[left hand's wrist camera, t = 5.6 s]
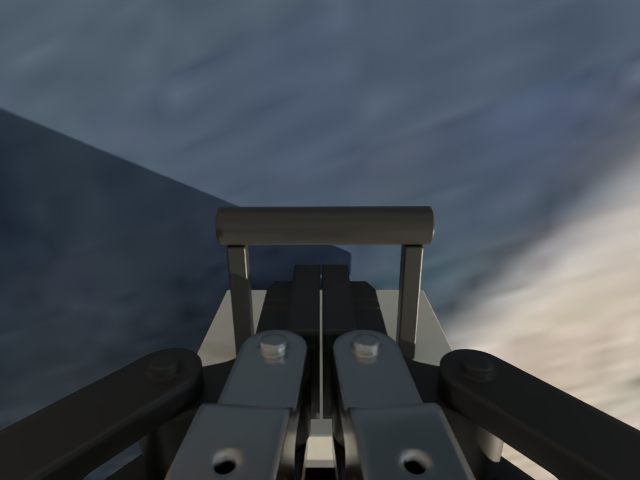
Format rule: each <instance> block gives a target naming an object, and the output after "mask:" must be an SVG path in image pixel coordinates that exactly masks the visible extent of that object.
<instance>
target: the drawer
mask: <svg viewBox="0 0 640 480" xmlns="http://www.w3.org/2000/svg"><path fill="white" fill-rule="evenodd" d="M216 235H217V240H218V242H219V244H220V245H228V247H227V258H228V269H229V281H230V290H227V292H226V294H225V296H224V298H223V300H222V303H221V305H220V307H219V309H218V311H217V313H216V315H215V317H214V319H213V322H212V324H211V326H210V328H209V330H208V332H207V334H206V336H205V338H204V341H203V343H202V345H201V347H200V349H199V351H198V353H197V354H198V355H199V357H200V358H201V361H202V367H203V366H208V365H213V364H218V363H222V362H226V361H229V360H232V359H234V358H236V357H237V355H238V353H239V351H240V348H241V346H242V344H243V343H244V342H245V341H246V340H247V339H248V338H249V337H251V336H252V335H254V334H255V333H256V330H257V326H258V322H259V318H260V314H261V310H262V306H263V302H264V299H265V295H266V291H267V290H251V278H250V263H249V248H248V245H402V248H401V264H400V280H399V290H376V293H377V297H378V302H379V305H380V310H381V312H382V316H383V319H384V323H385V327H386V330H387V334H388V336H389V337H391V338H392V339H393V340H394V341H395V342H396V343H397V344H398V346H399V348H400V351H401V353H402V355H403V356H405V357H407V358H409V359H412V360H414V361H418V362H422V363H426V364H431V365H436V366H439V365H440V360H441V358H442V357H443V356H444V355H445V354H446V353H448V352H451V351H452V349H451V347H450V345H449V343H448V340H447V338H446V336H445V334H444V332H443V330H442V328H441V326H440V324H439V322H438V320H437V318H436V316H435V314H434V312H433V310H432V308H431V305H430V303H429V301H428V299H427V297H426V295H425V293H424V291H423V290H420V285H421V272H422V260H423V246H422V245H429V244H431V242H432V240H433V236H434V214H433V211H432V208H431V207H429V206H365V207H220V208H219V209H218V212H217V216H216ZM304 480H336V477H335V470H334V462H333V454H332V419H323V379H322V290H320V419H311V432H310V435H309V438H308V454H307V462H306V469H305V477H304Z"/></svg>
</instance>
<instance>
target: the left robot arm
mask: <svg viewBox="0 0 640 480" xmlns="http://www.w3.org/2000/svg"><path fill="white" fill-rule="evenodd" d="M322 379H323V419H332V454H333V462H334V470H335V477H336V480H535V479H533V478H532V477H531V476H529V475H528V474H526V473H525V472H523V471H522V470H520V469H519V468H518V467H516V466H515V465H513V464H512V463H510V462H509V461H508V460H506V459H505V458H503V457H502V456H501V453H502V448H503V443H504V442H505V443H506V444H508V445H509V446H511V447H512V448H514V449H515V450H517V451H518V452H520V453H521V454H523V455H524V456H526V457H527V458H529V459H530V460H532V461H533V462H535V463H536V464H538V465H539V466H541V467H542V468H544V469H545V470H547V471H548V472H550V473H551V474H553V475H554V476H555V477H556V478H558V479H559V480H640V431H639V430H637V429H635V428H633V427H632V426H630V425H628V424H626V423H624V422H622V421H620V420H618V419H616V418H614V417H612V416H610V415H608V414H606V413H604V412H602V411H600V410H598V409H597V408H595V407H593V406H591V405H589V404H587V403H585V402H583V401H581V400H579V399H577V398H575V397H573V396H571V395H569V394H567V393H565V392H563V391H562V390H560V389H558V388H556V387H554V386H552V385H550V384H548V383H546V382H544V381H542V380H540V379H538V378H536V377H534V376H532V375H530V374H529V373H527V372H525V371H523V370H521V369H519V368H517V367H515V366H513V365H511V364H509V363H507V362H505V361H503V360H501V359H499V358H497V357H495V356H493V355H491V354H488V353H485V352H482V351H478V350H471V349H460V350H454V351H451V352H448V353H446V354H445V355H444V356H443V357H442V358H441V360H440V365H439V366H436V365H431V364H426V363H422V362H418V361H414V360H412V359H409V358H407V357H405V356H403V355H402V353H401V351H400V348H399V346H398V344H397V343H396V342H395V341H394V340H393V339H392V338H391V337H389V336H388V334H387V330H386V327H385V323H384V319H383V316H382V312H381V310H380V305H379V302H378V297H377V293H376V290H375V289H374V288H373V287H372V286H371V285H369V284H368V283H367V282H366V281H350V280H349V273H348V266H347V265H322ZM311 419H320V265H295V268H294V275H293V282H275V283H274V284H273V285H272V286H271V287H270V288H268V289H267V291H266V295H265V299H264V302H263V306H262V310H261V314H260V318H259V322H258V326H257V330H256V333H255V334H254V335H252V336H251V337H249V338H248V339H247V340H246V341H245V342H244V343H243V344H242V346H241V348H240V351H239V353H238V355H237V357H236V358H234V359H232V360H229V361H226V362H222V363H218V364H213V365H208V366H203V367H202V361H201V358H200V357H199V355H198V354H196V353H195V352H193V351H191V350H187V349H181V348H173V349H165V350H160V351H157V352H154V353H151V354H149V355H147V356H145V357H143V358H141V359H139V360H137V361H135V362H133V363H131V364H129V365H127V366H125V367H123V368H121V369H119V370H117V371H115V372H113V373H111V374H110V375H108V376H106V377H104V378H102V379H100V380H98V381H96V382H94V383H92V384H90V385H88V386H86V387H84V388H82V389H80V390H78V391H77V392H75V393H73V394H71V395H69V396H67V397H65V398H63V399H61V400H59V401H57V402H55V403H53V404H51V405H49V406H47V407H45V408H43V409H42V410H40V411H38V412H36V413H34V414H32V415H30V416H28V417H26V418H24V419H22V420H20V421H18V422H16V423H14V424H12V425H10V426H8V427H7V428H5V429H3V430H1V431H0V480H82V479H83V478H84V477H85V476H86V475H88V474H89V473H90V472H92V471H93V470H95V469H96V468H98V467H99V466H101V465H102V464H104V463H105V462H107V461H108V460H110V459H111V458H113V457H114V456H116V455H117V454H119V453H120V452H122V451H123V450H125V449H126V448H128V447H129V446H131V445H132V444H134V443H135V442H137V441H138V440H139V441H140V446H141V451H142V454H141V455H140V456H138V457H137V458H135V459H134V460H132V461H131V462H130V463H128V464H127V465H125V466H124V467H122V468H121V469H120V470H118V471H117V472H115V473H114V474H112V475H111V476H109V477H108V478H107V479H105V480H304V477H305V469H306V462H307V454H308V438H309V435H310V432H311Z"/></svg>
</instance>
